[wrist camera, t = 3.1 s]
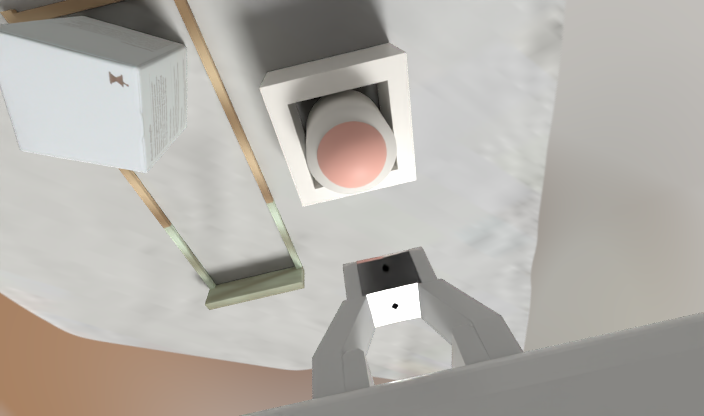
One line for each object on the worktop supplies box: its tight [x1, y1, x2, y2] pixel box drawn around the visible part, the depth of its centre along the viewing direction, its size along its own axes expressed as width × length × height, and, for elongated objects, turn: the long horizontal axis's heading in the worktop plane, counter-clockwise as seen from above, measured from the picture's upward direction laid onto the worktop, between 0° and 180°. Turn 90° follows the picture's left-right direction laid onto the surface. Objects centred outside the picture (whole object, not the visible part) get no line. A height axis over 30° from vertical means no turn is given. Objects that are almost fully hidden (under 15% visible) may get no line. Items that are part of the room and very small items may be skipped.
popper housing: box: [259, 43, 416, 207], centre depth 22 cm, size 9×9×4 cm
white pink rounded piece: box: [306, 90, 397, 194], centre depth 20 cm, size 6×6×6 cm
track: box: [0, 0, 304, 310], centre depth 25 cm, size 27×10×2 cm, turn 11°
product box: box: [0, 16, 187, 173], centre depth 18 cm, size 6×6×7 cm
